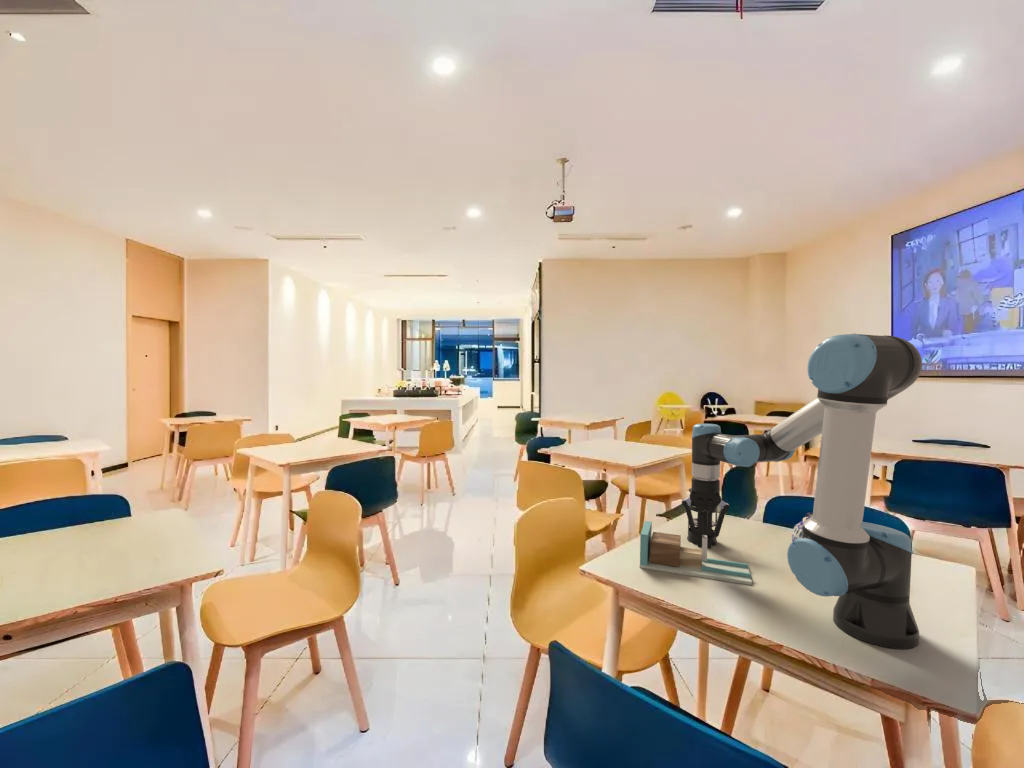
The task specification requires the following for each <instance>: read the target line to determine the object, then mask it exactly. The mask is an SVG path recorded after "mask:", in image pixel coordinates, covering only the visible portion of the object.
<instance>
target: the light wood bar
mask: <svg viewBox="0 0 1024 768" xmlns="http://www.w3.org/2000/svg"><path fill="white" fill-rule="evenodd" d="M679 565H683V566H689V567H696V568H701V566H702V548H694V547H686V546H680V561H679Z"/></svg>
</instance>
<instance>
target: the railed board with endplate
mask: <svg viewBox="0 0 1024 768" xmlns="http://www.w3.org/2000/svg"><path fill="white" fill-rule="evenodd" d="M652 523H653V521H649V520H644V523H643V526H642V529H641V531H640V535H639V536H640V543H639V544H640V545H639V546H640V547H639V568H640V569H641V568H642V569H646V570H653V571H658V572H664V573H665V572H666V573H673V574H679V575H683V576H684V575H685V576H691V577H697V578H704V579H709V580H715V581H716V580H718V581H723V582H729V583H736V584H741V585H742V584H743V585H748V586H750V585H751V586H752V585H753V581H752V574H751V572H750V570H749V563H746V562H745V563H744V562H738V561H731V560H722V559H716V558H710V557H707V561H702V566H701V568H696V567H689V566H683V565H679V567H675V566H669V565H662V564H655V563H650V542H651V538H652V534H653V531H652Z"/></svg>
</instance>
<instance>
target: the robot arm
mask: <svg viewBox="0 0 1024 768" xmlns="http://www.w3.org/2000/svg"><path fill="white" fill-rule="evenodd" d="M922 368H923V358H922V355H921V353H920V351H919V350H918V349H917V347H916V346H915V345H914V344H913V343H911V342H910V341H908V340H906V339H904V338H902V337H898V336H893V335H873V334H860V333H856V332H855V333H845V334H837V335H832V336H830V337H827V338H826V339H824V340H823V341H822V342H821V343H820V344H819V343H818V345H817V346H816V347H815V348H814V349H813V350H812V352H811V354H810V356H809V358H808V362H807V376H808V378H809V379H810V381H811V384H812V385H813V386H814V387H815V388H816V389H817V395H816V396H817V397H816V398H814V399H812V400H811V401H810V402H808V403H807V404H805V405H804V406H802V407H801V408H799V409H798V410H796V411H795V412H793V413H792V414H791V415H789V416H788V417H786V418H785V419H783V420H782V421H780V422H779V423H777V424H776V425H775V426H773V427H772V428H770V429H769V430H767V431H766V432H765V433H762V434H743V435H742V434H741V435H739V434H738V435H732V434H727V433H726V434H724V433H722V430H721V426H720V425H718V424H716V423H715V424H714V423H696V424H694V425H693V427H692V435H691V476H692V477H691V484H690V485H691V487H690V488H691V493H690V492H689V496H688V497H686V498H683V499H681V505H682V507H684V509H685V513H686V517H687V520H688V521H689V528H690V529H691V533H692V534H695V535H697V536H698V545H697V547H698V548H697V549H701V550H702V561H707V558H708V550H711V549H712V547H713V545H712V538H713V537H717V538H718V537H719V535H720V532H721V528H722V525H723V523H724V520H725V516H726V513H727V512H728V510H730V504H729V502H725V501H724V500H722V496H721V495H720V493H721V492H720V486H721V485H720V484H721V481H720V478H721V462H723V463H725V464H729V465H732V466H734V467H735V466H736V467H745V468H749V467H751V466H753V465H754V464H756V463H769V462H771V463H772V462H774V463H777V462H783V461H787V460H789V459H791V458H792V457H793V456H794V453H795V452H796V449H798V448H800V447H803V445H806V444H807V443H808V442H810V441H812V440H813V439H815V438H817V437H819V436H820V435H821V439H820V447H819V454H818V455H819V456H818V464H817V472H816V473H817V475H816V483H815V490H814V491H815V492H814V500H813V509H812V510H813V511H812V513H813V516H812V517H811V518H809V519H807V520H805V521H804V523H803V530H802V538H798V539H796V540H795V541H794V542H792V541H791V542H790V544H789V545H788V548H787V553H786V554H787V562H788V565H789V569H790V570H791V573H792V574H793V575H794V576H795V579H796V580H797V581H798V583H799V584H801V585H802V586H803V587H804V589H806V590H808V591H809V592H810V593H813V594H814V595H817V596H819V597H825V598H826V597H838V598H837V601H836V603H835V605H834V607H833V613H832V617H833V618H832V621H833V622H834V624H835V626H837V627H838V628H839V629H841V631H843V632H845V633H846V634H848V635H850V636H852V637H854V638H856V639H859V640H860V641H862V642H863V641H864V642H865V643H869V644H871V645H872V644H873V645H876V646H880V647H885V648H890V649H899V650H900V649H901V650H903V649H906V650H907V649H912V648H915V647H917V646H918V645H919V643H920V631H919V626H918V623H917V621H916V619H915V615H914V613H913V609H912V607H911V604H910V602H911V601H910V596H911V595H910V594H911V576H912V575H911V573H912V555H913V551H912V540H911V538H910V536H909V535H908V534H906V533H905V532H903V531H900V530H897V529H895V528H892V527H889V526H884V525H881V524H877V523H876V524H875V523H872V522H867V521H866V522H865V521H863V520H864V519H863V518H864V512H865V503H866V497H867V496H866V495H867V488H868V481H869V472H870V465H871V458H872V457H871V456H872V448H873V441H874V433H875V432H874V431H875V425H876V417H877V416H876V415H877V412H878V411H880V410H881V409H883V408H885V407H886V406H887V405H888V401H889V400H890V399H892V398H893V397H895V396H897V395H899V394H901V393H902V392H904V391H905V390H907V389H908V388H909V387H911V386H912V385H914V383H915V382H916V381H917V380H918V378H919V377H920V375H921V372H922ZM691 502H693V504H694V505H695V506H694V507H695V508H697V509H698V512H697V517H698V530H697V529H695V527H696V526H695V525H694V521H693V518H694V517H693V513H692V512H693V511H692V510H691V508H690V505H691ZM718 506H719V509H720V511H719V514H718V515H717V523H716V526H714V529H713V527H712V521H713V513H712V511H713V510H714V509H715V508H716V507H717V508H718ZM703 510H706V511H707V535H702V523H703ZM688 521H687V522H688ZM712 529H713V530H714V531H712Z"/></svg>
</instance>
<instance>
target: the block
mask: <svg viewBox="0 0 1024 768" xmlns="http://www.w3.org/2000/svg"><path fill="white" fill-rule="evenodd" d="M681 535H682V534H681ZM681 535H679V534H672V533H665V532H658V531H652V533H651V542H650V563H655V564H662V565H669V566H675V567H679V561H680V547H681V544H682V543H681V542H682V540H681Z"/></svg>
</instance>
